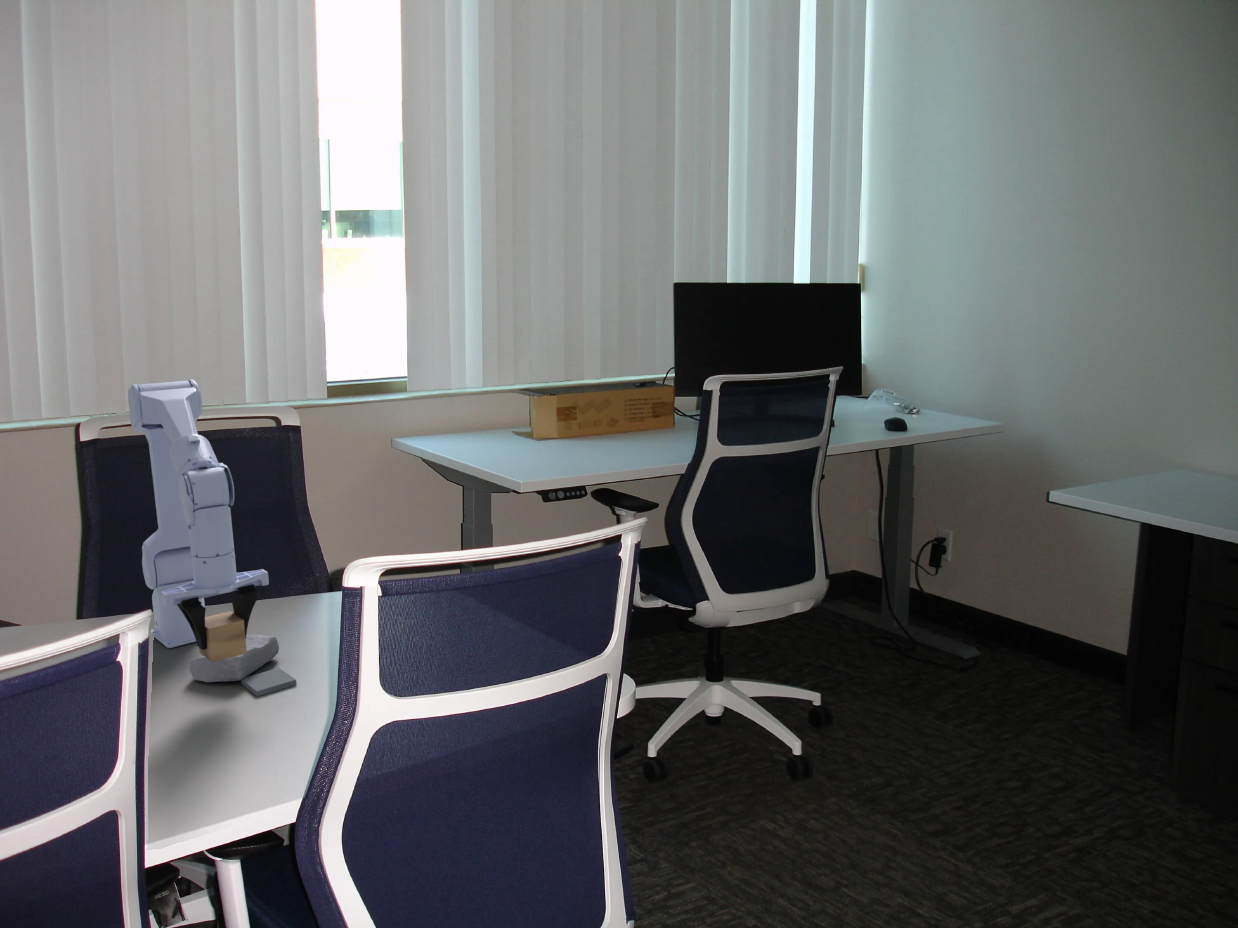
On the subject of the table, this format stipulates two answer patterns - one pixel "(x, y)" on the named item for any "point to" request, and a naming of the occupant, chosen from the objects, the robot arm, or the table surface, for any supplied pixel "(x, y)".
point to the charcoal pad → (268, 681)
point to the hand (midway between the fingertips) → (222, 642)
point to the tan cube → (224, 636)
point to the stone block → (236, 661)
